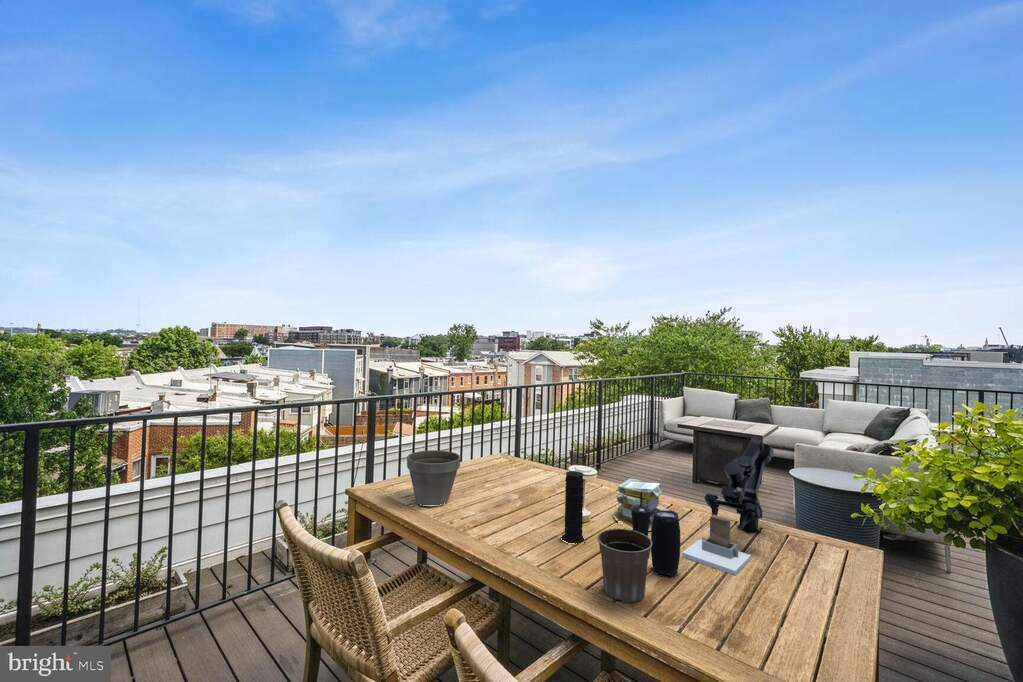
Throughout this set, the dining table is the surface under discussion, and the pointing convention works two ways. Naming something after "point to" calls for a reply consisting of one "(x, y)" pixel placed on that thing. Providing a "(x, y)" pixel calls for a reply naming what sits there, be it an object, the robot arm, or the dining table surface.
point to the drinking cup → (640, 517)
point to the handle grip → (573, 507)
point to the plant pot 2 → (624, 563)
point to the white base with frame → (717, 556)
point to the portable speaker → (665, 542)
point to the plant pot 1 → (433, 475)
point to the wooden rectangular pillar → (720, 531)
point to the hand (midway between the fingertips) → (726, 525)
